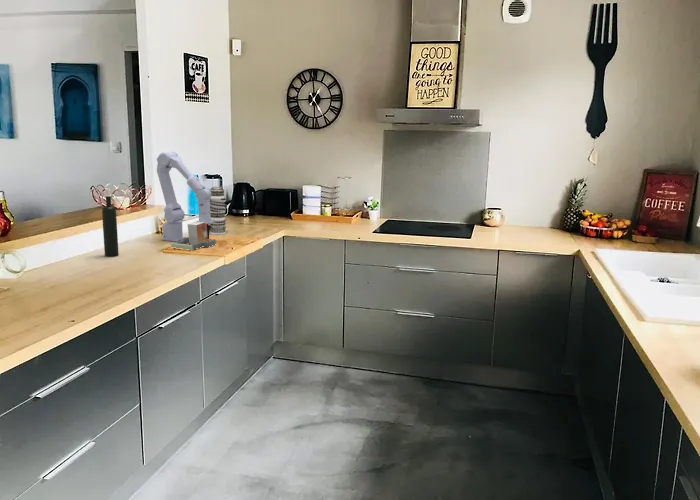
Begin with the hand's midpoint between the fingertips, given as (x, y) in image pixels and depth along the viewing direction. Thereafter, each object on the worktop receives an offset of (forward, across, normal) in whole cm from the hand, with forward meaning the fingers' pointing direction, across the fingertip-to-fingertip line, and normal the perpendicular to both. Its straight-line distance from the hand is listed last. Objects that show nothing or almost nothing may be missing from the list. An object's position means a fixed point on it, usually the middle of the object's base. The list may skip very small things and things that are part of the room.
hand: (205, 239), depth 297 cm
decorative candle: (+2, +25, +8) cm, 26 cm away
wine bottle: (+1, -43, +21) cm, 48 cm away
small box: (+1, -5, +1) cm, 5 cm away
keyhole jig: (+1, -12, +1) cm, 12 cm away
